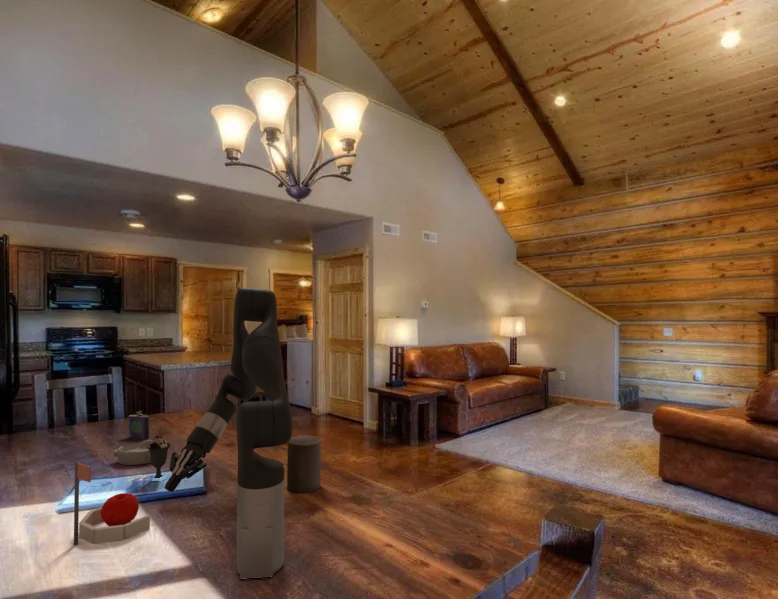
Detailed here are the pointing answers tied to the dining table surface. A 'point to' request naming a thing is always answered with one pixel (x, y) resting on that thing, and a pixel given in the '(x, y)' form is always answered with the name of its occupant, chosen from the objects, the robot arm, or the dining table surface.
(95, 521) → the cup
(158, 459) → the sundae
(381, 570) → the dining table surface
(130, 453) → the dish
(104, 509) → the apple
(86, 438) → the dining table surface
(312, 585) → the dining table surface
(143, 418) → the flask
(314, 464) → the pillar candle
